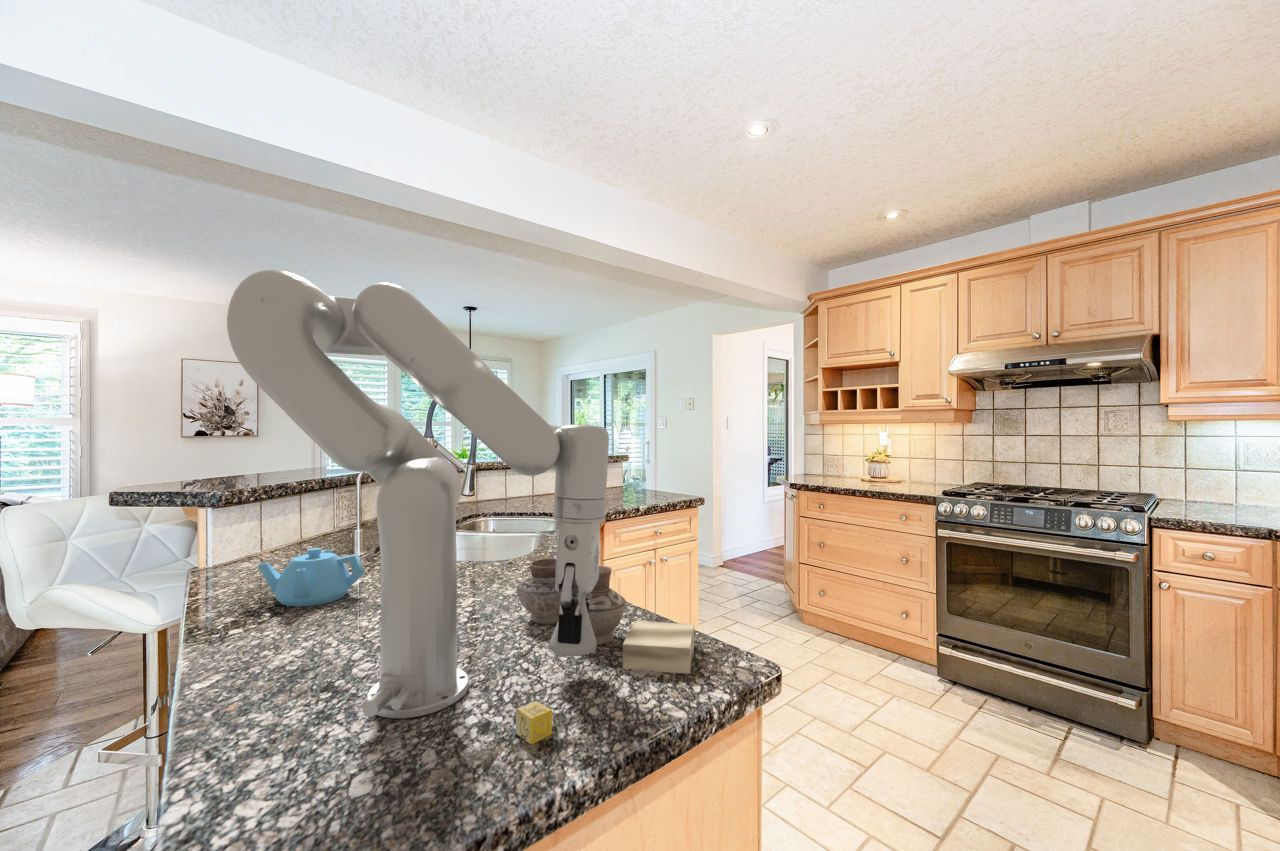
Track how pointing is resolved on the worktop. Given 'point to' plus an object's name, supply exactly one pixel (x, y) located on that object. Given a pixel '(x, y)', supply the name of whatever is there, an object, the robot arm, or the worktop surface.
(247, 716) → the worktop surface
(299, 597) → the teapot
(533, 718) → the alphabet block
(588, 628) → the flask
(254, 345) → the robot arm
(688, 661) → the maple block
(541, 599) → the pottery
